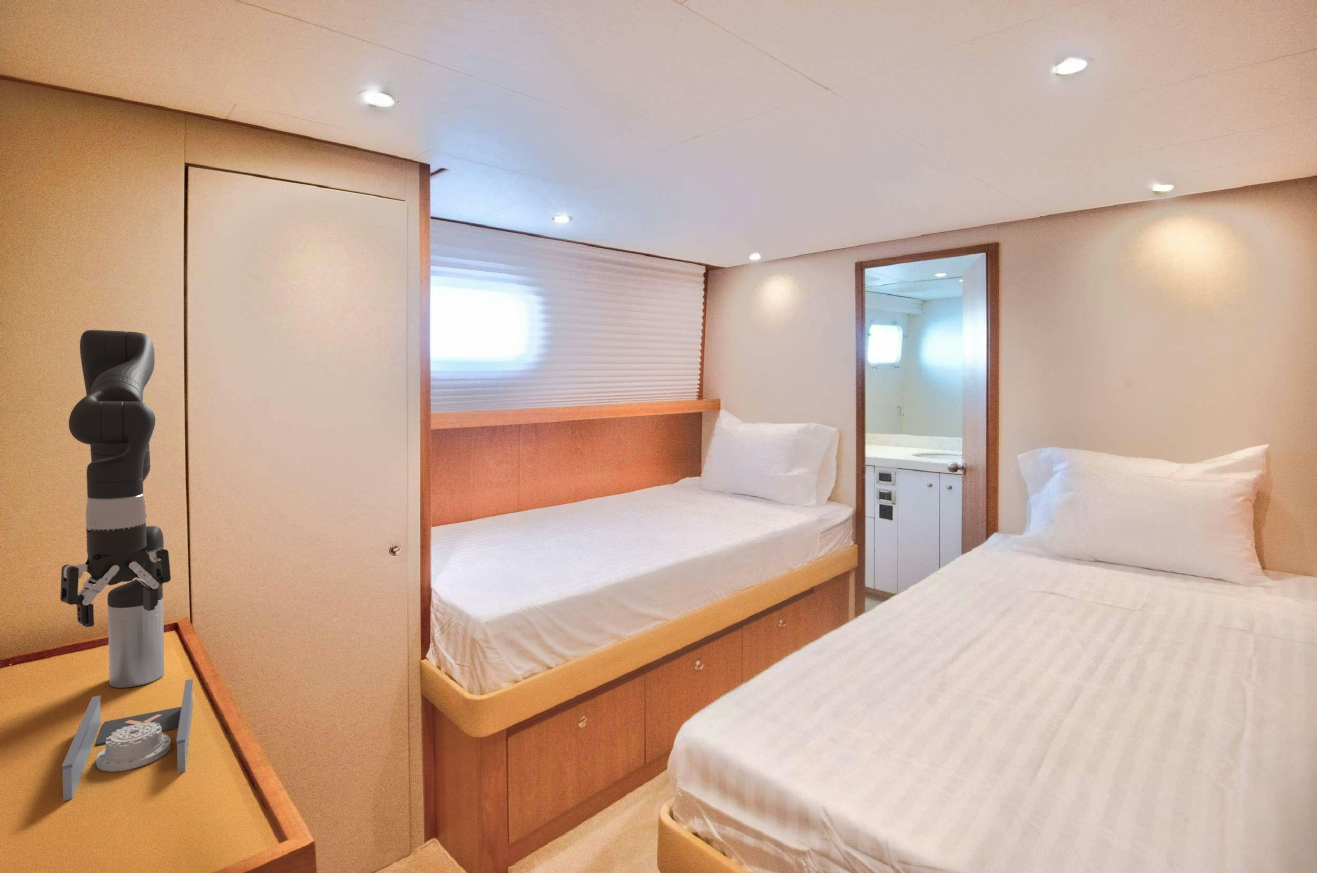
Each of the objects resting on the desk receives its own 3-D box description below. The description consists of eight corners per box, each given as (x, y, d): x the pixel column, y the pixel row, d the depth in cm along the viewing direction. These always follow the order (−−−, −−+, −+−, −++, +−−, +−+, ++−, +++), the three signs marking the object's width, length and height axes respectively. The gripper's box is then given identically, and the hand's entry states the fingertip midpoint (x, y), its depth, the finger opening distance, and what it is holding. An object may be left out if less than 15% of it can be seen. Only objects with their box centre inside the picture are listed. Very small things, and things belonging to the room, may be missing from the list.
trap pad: (104, 723, 120) (104, 721, 120) (183, 707, 127) (183, 705, 127) (95, 745, 113) (95, 743, 113) (180, 727, 119) (180, 725, 119)
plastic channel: (92, 725, 119) (92, 696, 119) (193, 705, 128) (193, 678, 127) (62, 801, 98) (61, 766, 97) (185, 771, 106) (185, 739, 106)
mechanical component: (80, 768, 106) (128, 777, 104) (79, 742, 106) (128, 751, 104) (139, 737, 116) (185, 745, 114) (139, 714, 116) (184, 721, 114)
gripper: (153, 512, 113) (155, 600, 114) (49, 527, 100) (53, 626, 102) (177, 517, 110) (179, 609, 111) (73, 534, 97) (77, 637, 98)
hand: (119, 617), depth 106 cm, fingers open, 8 cm apart
